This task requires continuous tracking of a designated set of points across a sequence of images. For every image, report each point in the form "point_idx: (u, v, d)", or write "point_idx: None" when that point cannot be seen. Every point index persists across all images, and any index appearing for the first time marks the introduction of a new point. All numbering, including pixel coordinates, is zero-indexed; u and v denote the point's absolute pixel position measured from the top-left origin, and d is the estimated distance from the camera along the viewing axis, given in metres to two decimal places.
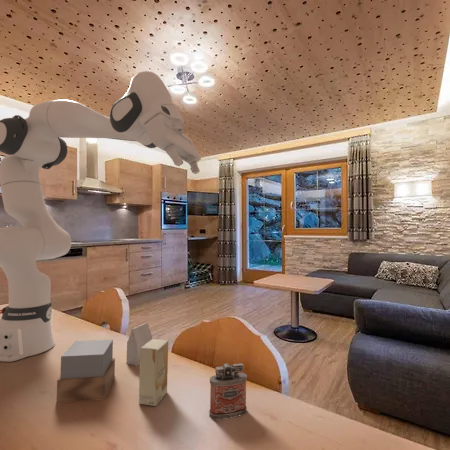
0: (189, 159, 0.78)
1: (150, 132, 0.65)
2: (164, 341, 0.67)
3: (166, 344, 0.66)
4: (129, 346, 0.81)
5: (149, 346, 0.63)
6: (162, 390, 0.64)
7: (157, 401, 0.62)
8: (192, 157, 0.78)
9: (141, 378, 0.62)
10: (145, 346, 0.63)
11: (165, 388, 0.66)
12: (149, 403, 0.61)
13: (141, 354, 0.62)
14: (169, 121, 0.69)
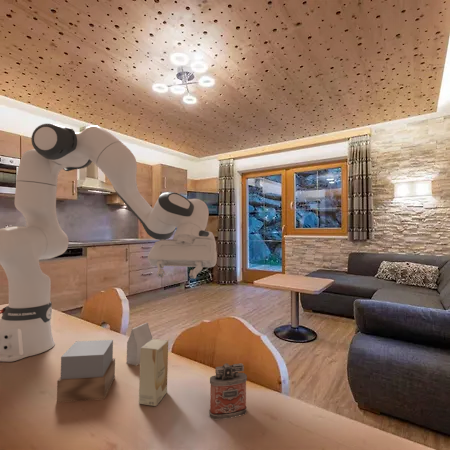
0: (163, 262, 0.81)
1: (215, 251, 0.80)
2: (164, 341, 0.67)
3: (166, 344, 0.66)
4: (129, 346, 0.81)
5: (149, 346, 0.63)
6: (162, 390, 0.64)
7: (157, 401, 0.62)
8: (164, 264, 0.82)
9: (141, 378, 0.62)
10: (145, 346, 0.63)
11: (165, 388, 0.66)
12: (149, 403, 0.61)
13: (141, 354, 0.62)
14: None
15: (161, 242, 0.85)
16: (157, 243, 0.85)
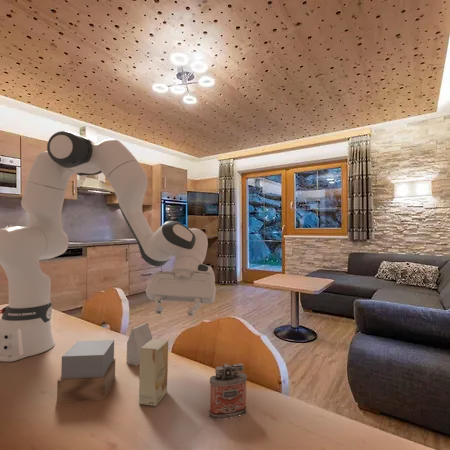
0: (161, 297, 0.81)
1: (214, 287, 0.80)
2: (164, 341, 0.67)
3: (166, 344, 0.66)
4: (129, 346, 0.81)
5: (149, 346, 0.63)
6: (162, 390, 0.64)
7: (157, 401, 0.62)
8: (162, 299, 0.81)
9: (141, 378, 0.62)
10: (145, 346, 0.63)
11: (165, 387, 0.66)
12: (149, 403, 0.61)
13: (141, 354, 0.62)
14: None
15: (159, 275, 0.84)
16: (155, 276, 0.84)
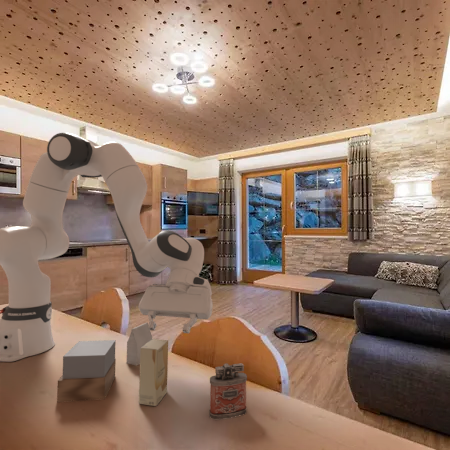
0: (154, 312, 0.76)
1: (210, 302, 0.75)
2: (164, 341, 0.67)
3: (166, 344, 0.66)
4: (129, 346, 0.81)
5: (149, 346, 0.63)
6: (162, 390, 0.64)
7: (157, 401, 0.62)
8: (155, 314, 0.77)
9: (141, 378, 0.62)
10: (145, 346, 0.63)
11: (165, 388, 0.66)
12: (149, 403, 0.61)
13: (141, 354, 0.62)
14: None
15: (153, 289, 0.80)
16: (149, 290, 0.80)
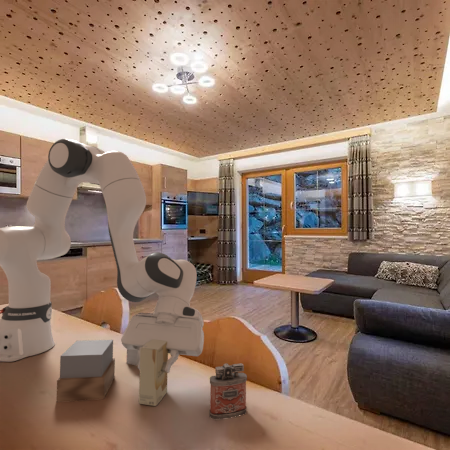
0: (139, 347, 0.68)
1: (201, 337, 0.67)
2: (164, 341, 0.67)
3: (166, 344, 0.66)
4: None
5: (149, 346, 0.63)
6: (162, 390, 0.64)
7: (157, 401, 0.62)
8: None
9: (141, 378, 0.62)
10: (145, 346, 0.63)
11: (165, 387, 0.66)
12: (149, 403, 0.61)
13: (141, 354, 0.62)
14: None
15: (138, 319, 0.72)
16: (134, 320, 0.72)
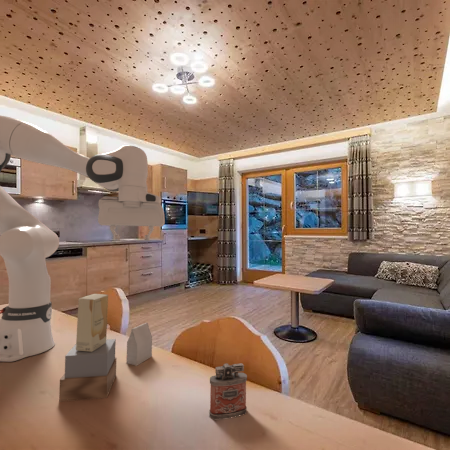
0: (115, 225, 0.89)
1: (163, 215, 0.91)
2: (103, 295, 0.71)
3: (105, 297, 0.71)
4: (129, 346, 0.81)
5: (87, 298, 0.67)
6: (100, 339, 0.69)
7: (93, 347, 0.66)
8: (116, 225, 0.90)
9: (78, 326, 0.66)
10: (83, 297, 0.67)
11: (104, 338, 0.70)
12: (85, 349, 0.66)
13: (79, 304, 0.66)
14: None
15: (107, 204, 0.88)
16: (103, 206, 0.87)
